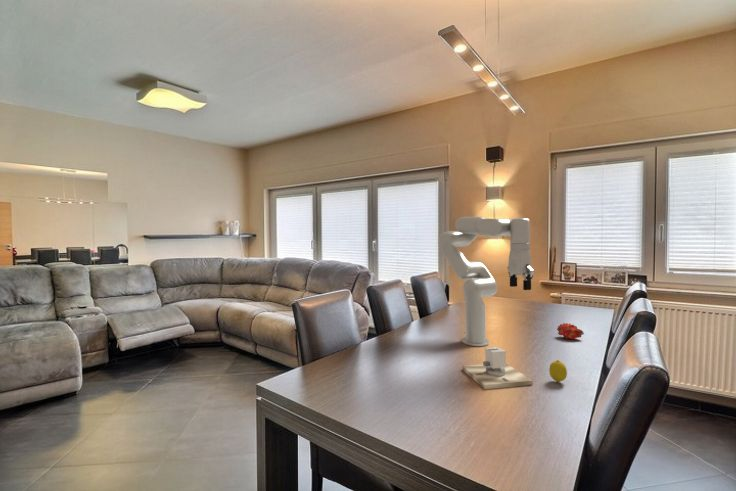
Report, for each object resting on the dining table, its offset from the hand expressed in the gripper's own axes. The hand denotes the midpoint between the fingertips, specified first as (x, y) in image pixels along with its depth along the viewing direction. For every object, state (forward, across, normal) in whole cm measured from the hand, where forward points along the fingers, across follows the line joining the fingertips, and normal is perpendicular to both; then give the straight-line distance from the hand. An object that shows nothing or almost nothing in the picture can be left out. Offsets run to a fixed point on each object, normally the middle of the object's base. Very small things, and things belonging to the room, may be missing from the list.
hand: (520, 288), depth 148 cm
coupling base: (+30, +15, -20) cm, 39 cm away
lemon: (+30, +24, -1) cm, 39 cm away
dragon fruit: (+31, -21, +41) cm, 55 cm away
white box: (+26, +15, -21) cm, 37 cm away
